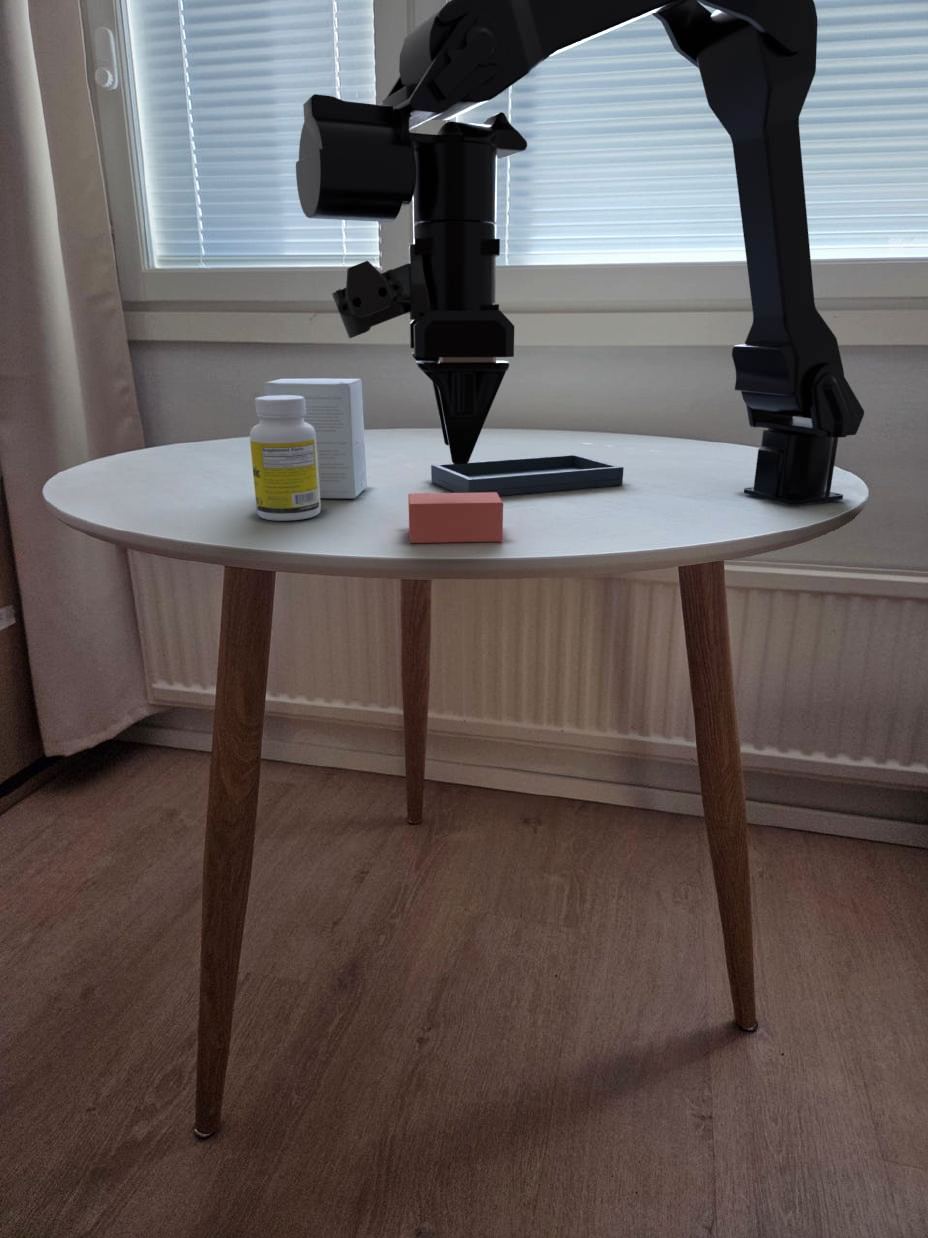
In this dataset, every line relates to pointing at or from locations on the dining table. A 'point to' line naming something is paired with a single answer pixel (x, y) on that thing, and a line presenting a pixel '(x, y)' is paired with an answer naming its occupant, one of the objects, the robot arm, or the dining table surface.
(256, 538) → the dining table surface
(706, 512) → the dining table surface
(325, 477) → the small box
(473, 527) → the brick
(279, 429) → the supplement bottle
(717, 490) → the dining table surface
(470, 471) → the tray
